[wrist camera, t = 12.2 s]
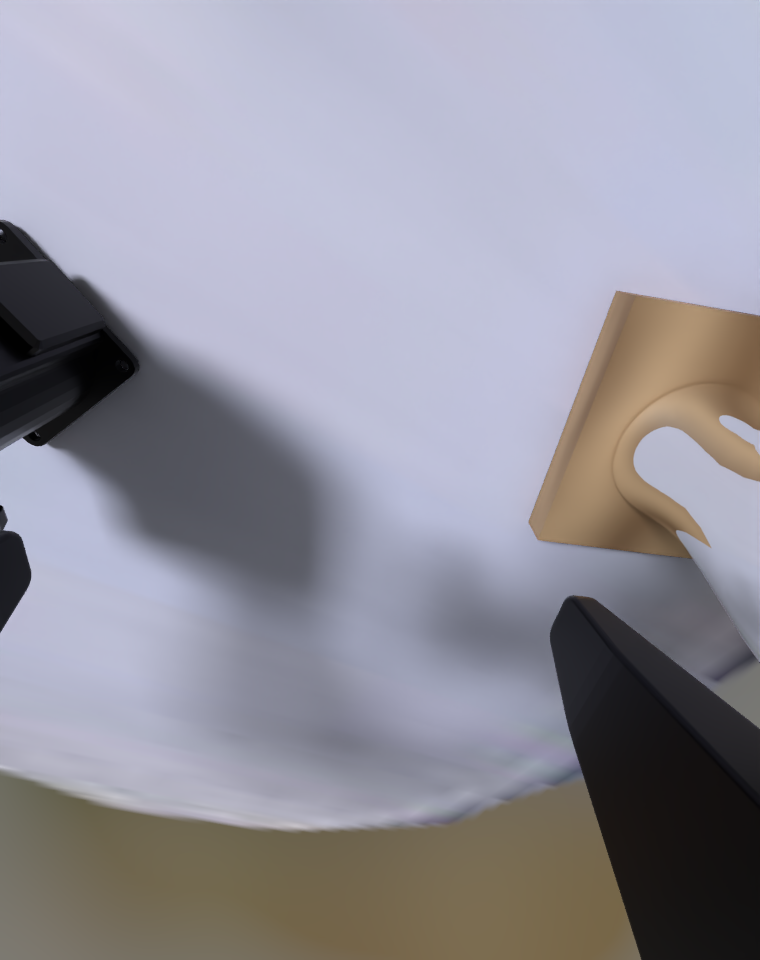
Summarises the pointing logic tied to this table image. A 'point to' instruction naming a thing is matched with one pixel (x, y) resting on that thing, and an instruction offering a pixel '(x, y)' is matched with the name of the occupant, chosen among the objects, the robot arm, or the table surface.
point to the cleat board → (636, 413)
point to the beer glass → (703, 487)
